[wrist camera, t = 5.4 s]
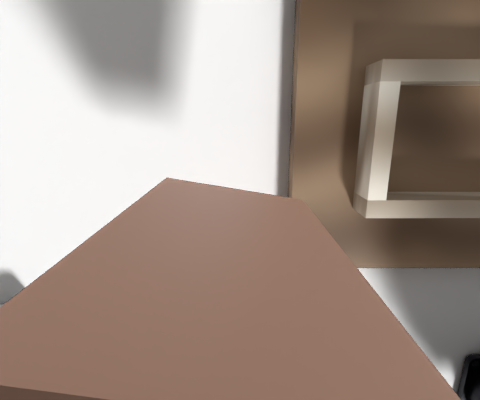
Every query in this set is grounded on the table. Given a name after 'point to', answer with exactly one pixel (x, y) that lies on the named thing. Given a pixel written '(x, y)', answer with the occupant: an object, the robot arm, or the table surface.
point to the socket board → (389, 128)
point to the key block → (209, 311)
